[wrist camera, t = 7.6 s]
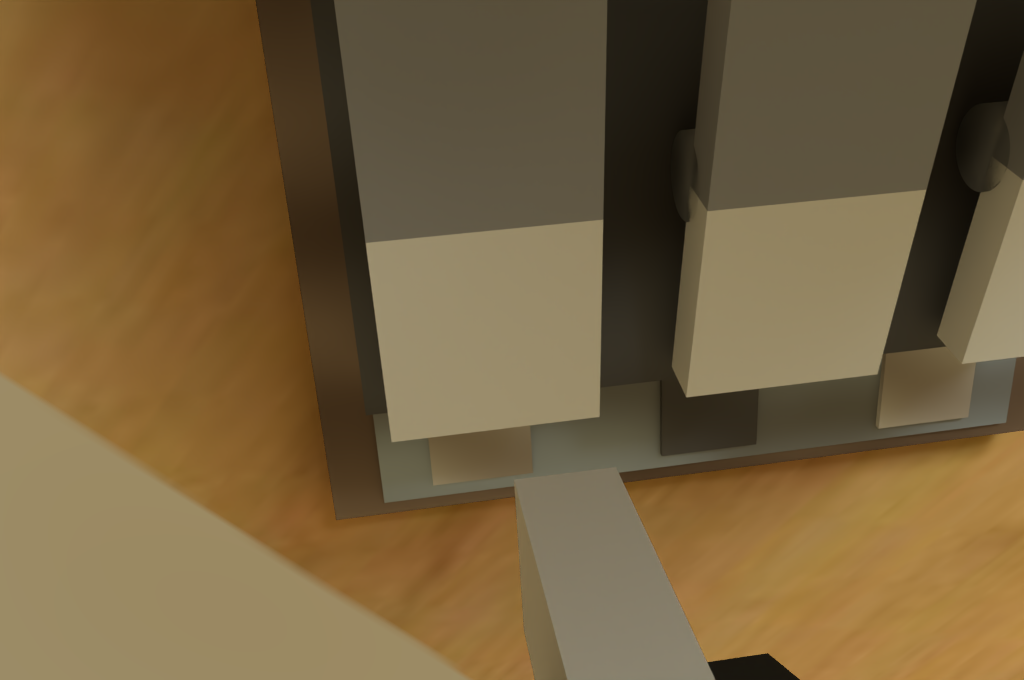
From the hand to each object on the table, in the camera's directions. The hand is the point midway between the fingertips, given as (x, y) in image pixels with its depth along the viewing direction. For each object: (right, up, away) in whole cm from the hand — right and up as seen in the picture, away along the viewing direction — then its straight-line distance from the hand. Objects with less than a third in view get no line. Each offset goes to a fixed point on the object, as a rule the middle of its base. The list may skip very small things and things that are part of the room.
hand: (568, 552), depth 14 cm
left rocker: (-2, +7, +7) cm, 10 cm away
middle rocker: (+5, +8, +8) cm, 12 cm away
